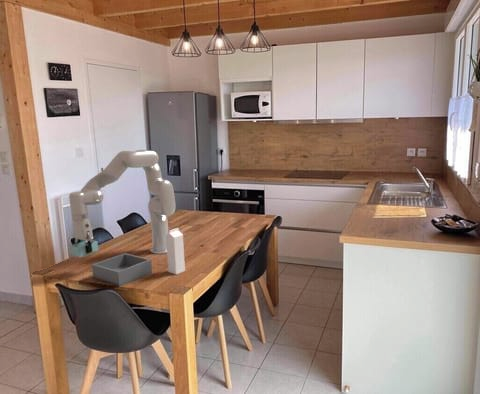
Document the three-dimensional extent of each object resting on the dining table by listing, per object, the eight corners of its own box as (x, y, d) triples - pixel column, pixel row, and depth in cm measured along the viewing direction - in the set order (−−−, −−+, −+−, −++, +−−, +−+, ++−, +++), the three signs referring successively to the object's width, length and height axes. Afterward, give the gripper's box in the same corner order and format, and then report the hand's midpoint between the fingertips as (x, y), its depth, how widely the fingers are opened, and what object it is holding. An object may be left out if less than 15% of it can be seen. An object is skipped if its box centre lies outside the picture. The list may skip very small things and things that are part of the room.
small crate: (90, 248, 217) (89, 239, 216) (98, 250, 212) (97, 241, 211) (70, 255, 208) (69, 245, 207) (79, 257, 204) (77, 247, 203)
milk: (185, 271, 210) (183, 228, 206) (176, 274, 206) (173, 231, 202) (176, 268, 214) (174, 226, 210) (167, 272, 210) (165, 229, 206)
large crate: (126, 265, 221) (125, 253, 219) (152, 273, 209) (151, 259, 208) (93, 278, 205) (91, 264, 204) (119, 286, 193) (118, 272, 192)
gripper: (97, 217, 204) (101, 251, 208) (76, 213, 214) (81, 246, 218) (83, 220, 198) (88, 256, 202) (63, 216, 209) (68, 250, 212)
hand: (84, 251), depth 210 cm, fingers closed on small crate, 7 cm apart
